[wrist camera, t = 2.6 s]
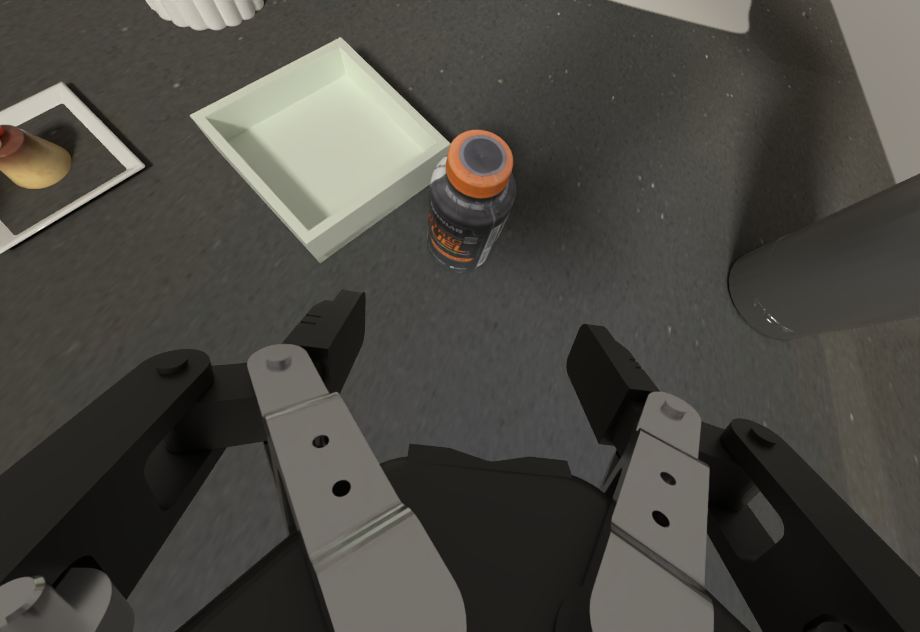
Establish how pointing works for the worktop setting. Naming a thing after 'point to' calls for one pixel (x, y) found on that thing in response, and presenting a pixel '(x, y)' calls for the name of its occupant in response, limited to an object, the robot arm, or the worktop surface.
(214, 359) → the worktop surface
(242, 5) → the mooncake
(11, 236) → the dessert
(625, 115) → the worktop surface
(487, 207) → the pill bottle
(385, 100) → the tray
